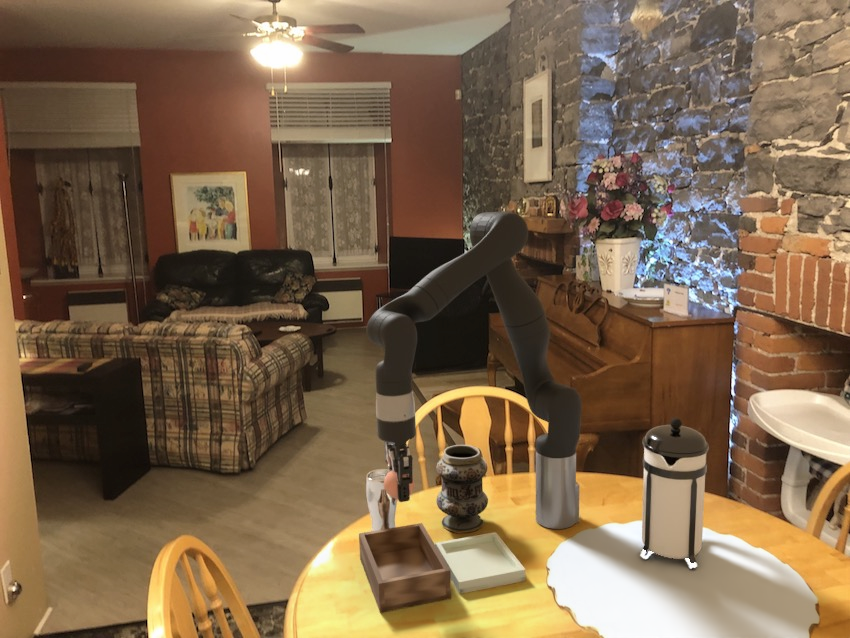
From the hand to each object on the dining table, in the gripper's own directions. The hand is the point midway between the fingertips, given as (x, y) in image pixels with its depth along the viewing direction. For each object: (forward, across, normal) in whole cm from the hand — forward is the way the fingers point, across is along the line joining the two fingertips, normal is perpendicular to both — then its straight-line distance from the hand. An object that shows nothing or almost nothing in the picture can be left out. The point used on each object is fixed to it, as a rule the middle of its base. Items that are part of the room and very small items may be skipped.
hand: (399, 493), depth 138 cm
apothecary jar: (+19, +18, -19) cm, 32 cm away
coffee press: (+19, -8, -57) cm, 60 cm away
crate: (+18, 0, 0) cm, 18 cm away
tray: (+19, -1, -16) cm, 24 cm away
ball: (-2, 0, 0) cm, 2 cm away
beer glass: (+19, +18, 0) cm, 26 cm away
